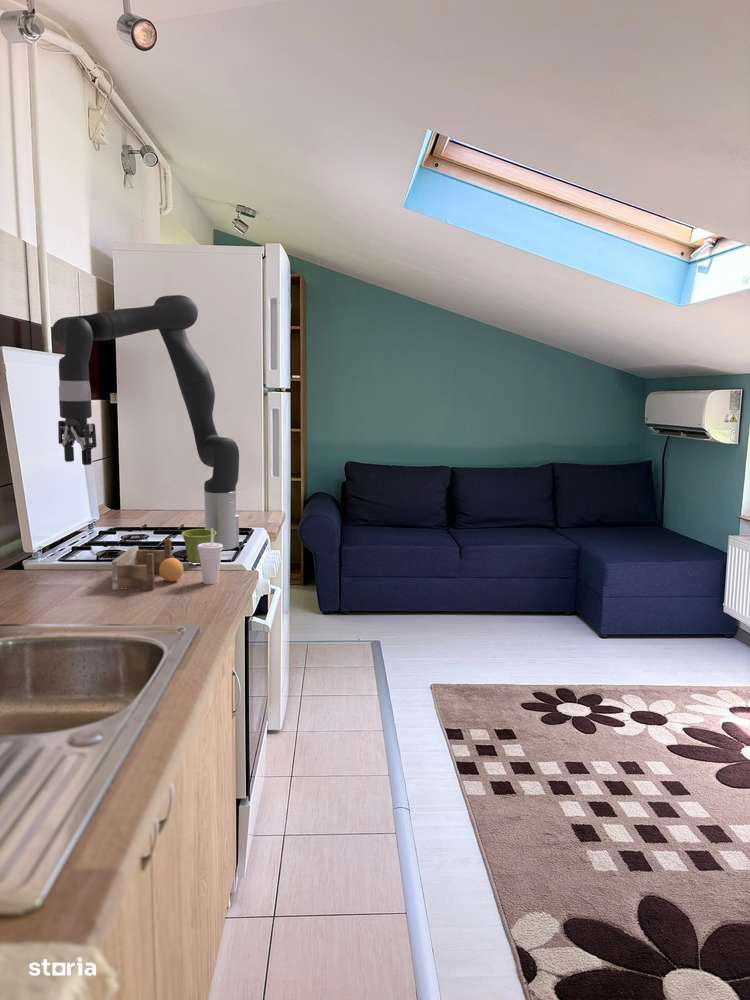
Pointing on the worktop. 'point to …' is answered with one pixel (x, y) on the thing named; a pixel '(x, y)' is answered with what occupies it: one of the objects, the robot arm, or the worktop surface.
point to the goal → (138, 567)
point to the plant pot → (196, 542)
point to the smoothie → (210, 560)
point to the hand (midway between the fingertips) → (78, 463)
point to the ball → (171, 569)
